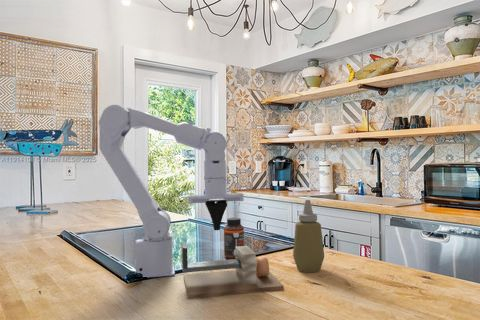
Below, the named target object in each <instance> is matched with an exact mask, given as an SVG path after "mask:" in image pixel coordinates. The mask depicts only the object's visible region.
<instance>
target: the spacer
mask: <svg viewBox="0 0 480 320" xmlns="http://www.w3.org/2000/svg"><path fill="white" fill-rule="evenodd" d="M269 271H270V263H269V260H268V258H267V257H266V256H265V257H256V276H257V277H265V276H268V275H269Z"/></svg>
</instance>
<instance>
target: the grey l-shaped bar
mask: <svg viewBox="0 0 480 320" xmlns="http://www.w3.org/2000/svg"><path fill="white" fill-rule="evenodd" d="M180 246H181V248H180V249H181V270H182V273H195V272H206V271H207V272H208V271H209V272H210V271H218V270H219V271H220V270H221V271H222V270H230V269H231V270H232V269H236V268H241V262H240V261H239V259H233V258H229V259H222V260H221V259H220V260H207V261H206V260H204V261H196V262H195V261H194V262H189V261H188V259H189V258H188V246H187V243H186V242H182V243H181V245H180Z"/></svg>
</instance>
